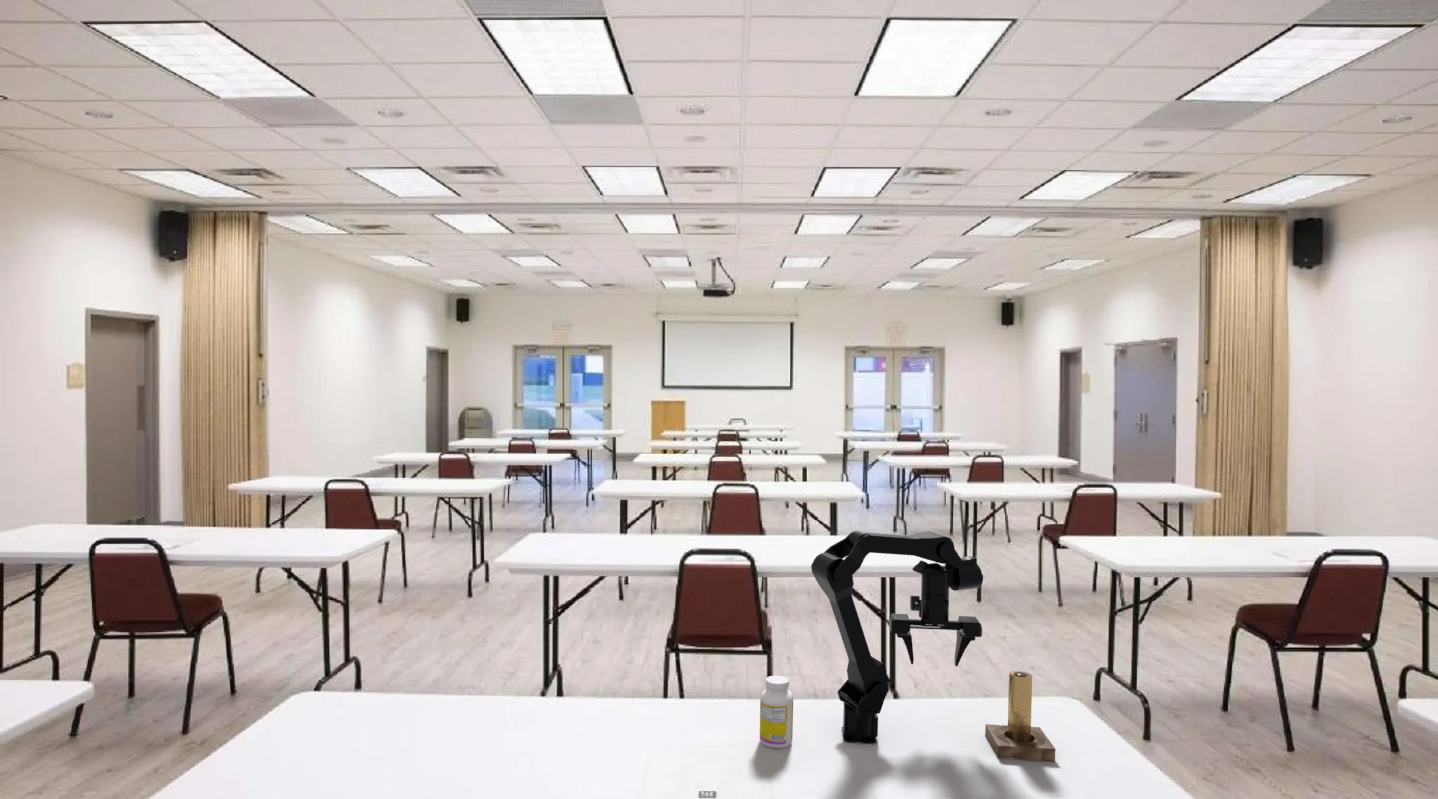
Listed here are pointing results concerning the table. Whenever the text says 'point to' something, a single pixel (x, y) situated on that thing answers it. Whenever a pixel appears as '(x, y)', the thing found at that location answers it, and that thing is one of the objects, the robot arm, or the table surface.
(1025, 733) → the bronze sleeve
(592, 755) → the table surface
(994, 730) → the jig plate
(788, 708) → the supplement bottle
